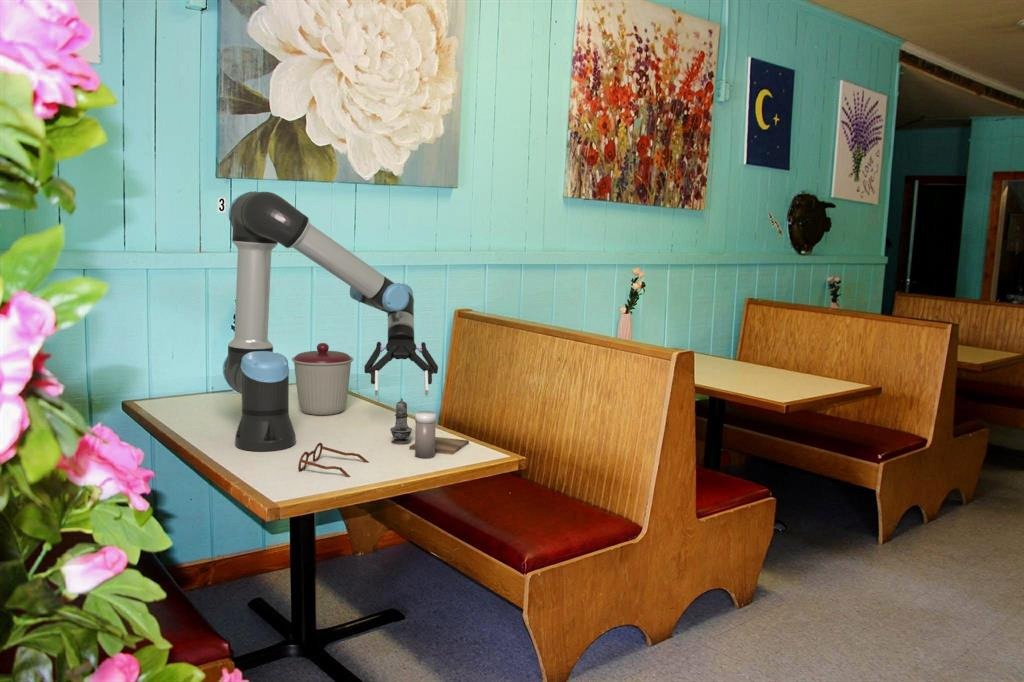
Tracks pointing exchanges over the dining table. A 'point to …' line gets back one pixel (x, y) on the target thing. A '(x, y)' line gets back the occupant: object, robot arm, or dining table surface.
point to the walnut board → (446, 445)
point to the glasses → (320, 455)
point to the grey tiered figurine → (401, 425)
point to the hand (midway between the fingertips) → (401, 393)
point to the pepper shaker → (425, 434)
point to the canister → (322, 380)
